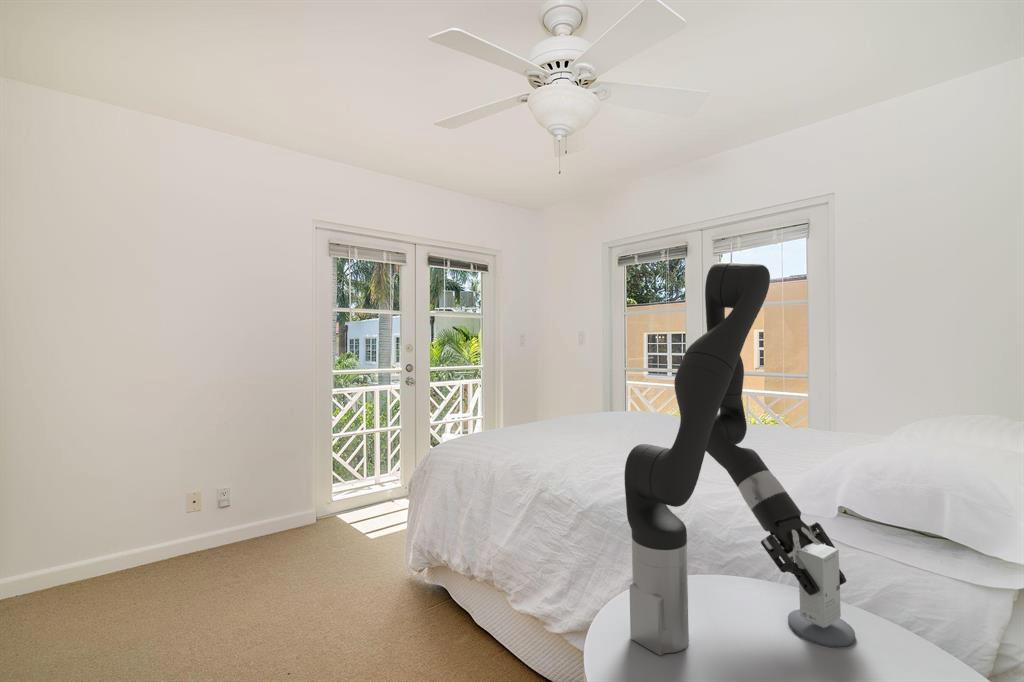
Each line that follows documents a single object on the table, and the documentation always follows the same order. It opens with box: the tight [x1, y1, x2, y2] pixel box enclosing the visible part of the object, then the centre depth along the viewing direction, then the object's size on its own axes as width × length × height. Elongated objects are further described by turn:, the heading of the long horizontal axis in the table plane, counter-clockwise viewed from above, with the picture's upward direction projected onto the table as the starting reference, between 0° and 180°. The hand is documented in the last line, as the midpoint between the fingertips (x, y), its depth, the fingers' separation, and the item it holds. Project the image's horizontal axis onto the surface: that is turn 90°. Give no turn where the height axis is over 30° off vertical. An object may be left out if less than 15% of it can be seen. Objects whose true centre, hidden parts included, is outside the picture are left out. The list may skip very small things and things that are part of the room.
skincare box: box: [798, 543, 842, 628], centre depth 86 cm, size 6×4×12 cm
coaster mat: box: [787, 608, 856, 649], centre depth 86 cm, size 10×10×1 cm
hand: (828, 588), depth 85 cm, fingers closed on skincare box, 6 cm apart
